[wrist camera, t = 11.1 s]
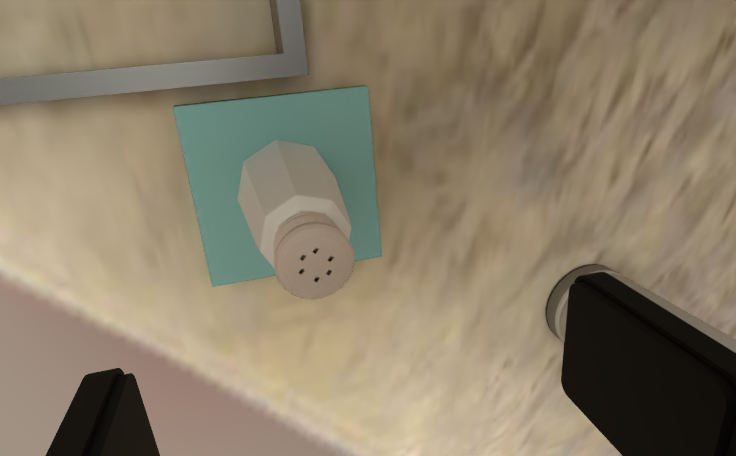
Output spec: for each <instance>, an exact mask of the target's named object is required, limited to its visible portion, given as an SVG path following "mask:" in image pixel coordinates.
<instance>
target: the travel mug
mask: <svg viewBox="0 0 736 456" xmlns="http://www.w3.org/2000/svg"><path fill="white" fill-rule="evenodd" d="M596 272H606V273H608V274H610V275H611V276H613V277H615V278H616V279H618V280H619V281H621V282H623V283H624V284H626V285H627V286H629V287H631V288H632V289H634V290H635V291H637V292H639V293H640V294H642V295H643V296H645V297H647V298H648V299H650V300H651V301H653V302H655V303H656V304H658V305H660V306H661V307H663V308H664V309H666V310H668V311H669V312H671V313H672V314H674V315H676V316H677V317H679V318H680V319H682V320H684V321H685V322H687V323H688V324H690V325H692V326H693V327H695V328H697V329H698V330H700V331H701V332H703V333H705V334H706V335H708V336H709V337H711V338H713V339H714V340H716V341H717V342H719V343H721V344H722V345H724V346H725V347H727V348H729V349H730V350H732V351H733V352H735V353H736V339H734V338H732V337H730V336H728V335H727V334H725V333H723V332H721V331H720V330H718V329H716V328H714V327H713V326H711V325H709V324H707V323H705V322H704V321H702V320H700V319H698V318H697V317H695V316H693V315H691V314H689V313H688V312H686V311H684V310H682V309H681V308H679V307H677V306H675V305H674V304H672V303H670V302H668V301H666V300H665V299H663V298H661V297H659V296H658V295H656V294H654V293H652V292H650V291H649V290H647V289H645V288H643V287H642V286H640V285H638V284H636V283H635V282H633V281H631V280H629V279H627V278H625V277H623V276H622V275H620V274H619V273H617V272H615V271H613V270H611V269H610V268H607V267H605V266H601V265H589V266H585V267H581V268H579V269H577V270H575V271H573V272H571V273H570V274H568V275H567V276H566V277H565V278H564V279H563V280H562V281H561V282H560V283H559V284H558V285H557V287H556V288H555V290H554V291H553V293H552V295H551V297H550V300H549V303H548V308H547V320H548V324H549V327H550V329H551V331H552V332H553V333H554V334H555V335H556V336H557V337H558V338H559V339H560V340H562V341H563V342H564V341H565V330H566V318H567V307H568V295H569V288H570V286H571V285H572V284H574V281H575V279H576V278H577V277H578V276H581V275H586V274H591V273H596Z"/></svg>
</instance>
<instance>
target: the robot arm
mask: <svg viewBox="0 0 736 456" xmlns="http://www.w3.org/2000/svg"><path fill="white" fill-rule="evenodd" d="M561 382H562V387H563V389H564V391H565V393H566V395H567V396H568V397H569V398H570V399H571V400H572V402H573V403H574V404H575V405H576V406H577V407H578V408H579V409H580V410H581V411H582V412H583V413H584V414H585V416H586V417H587V418H588V419H589V420H590V421H591V422H592V423H593V424H594V425H595V426H596V427H597V429H598V430H599V431H600V432H601V433H602V434H603V435H604V436H605V437H606V438H607V439H608V440H609V441H610V443H611V444H612V445H613V446H614V447H615V448H616V449H617V450H618V451H619V452H620V453H621V454H622V456H736V353H735V352H733V351H732V350H730V349H729V348H727V347H725V346H724V345H722V344H721V343H719V342H717V341H716V340H714V339H713V338H711V337H709V336H708V335H706V334H705V333H703V332H701V331H700V330H698V329H697V328H695V327H693V326H692V325H690V324H688V323H687V322H685V321H684V320H682V319H680V318H679V317H677V316H676V315H674V314H672V313H671V312H669V311H668V310H666V309H664V308H663V307H661V306H660V305H658V304H656V303H655V302H653V301H651V300H650V299H648V298H647V297H645V296H643V295H642V294H640V293H639V292H637V291H635V290H634V289H632V288H631V287H629V286H627V285H626V284H624V283H623V282H621V281H619V280H618V279H616V278H615V277H613V276H611V275H610V274H608V273H606V272H596V273H591V274H586V275H581V276H578V277H577V278H576V279H575V281H574V284H572V285H571V286H570V288H569V295H568V307H567V318H566V330H565V341H564V353H563V365H562V376H561ZM46 456H160V454H159V451H158V448H157V445H156V442H155V438H154V435H153V432H152V429H151V426H150V423H149V420H148V416H147V413H146V410H145V407H144V404H143V401H142V398H141V394H140V391H139V388H138V385H137V382H136V379H135V377H134V375H133V374H131V373H130V374H125V375H124V372H123V371H122V370H121V369H120V368H116V369H111V370H106V371H101V372H96V373H91V374H88V375H85V377H84V378H83V380H82V382H81V384H80V386H79V388H78V390H77V392H76V394H75V397H74V398H73V400H72V402H71V405H70V407H69V409H68V411H67V413H66V415H65V417H64V419H63V421H62V423H61V425H60V427H59V429H58V431H57V433H56V436H55V437H54V440H53V442H52V444H51V446H50V448H49V450H48V452H47V454H46Z"/></svg>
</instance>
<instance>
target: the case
mask: <svg viewBox="0 0 736 456" xmlns="http://www.w3.org/2000/svg"><path fill="white" fill-rule="evenodd" d="M270 7H271V14H272V21H273V28H274V35H275V43H276V50H277V54H273V55H261V56H250V57H239V58H228V59H216V60H205V61H194V62H183V63H171V64H160V65H149V66H138V67H126V68H115V69H104V70H92V71H81V72H70V73H59V74H47V75H36V76H25V77H14V78H2V79H0V105H9V104H19V103H30V102H40V101H50V100H60V99H70V98H80V97H90V96H100V95H111V94H121V93H131V92H141V91H151V90H161V89H171V88H181V87H192V86H202V85H212V84H222V83H232V82H242V81H252V80H262V79H273V78H283V77H293V76H303V75H309V72H308V63H307V55H306V47H305V39H304V30H303V22H302V14H301V6H300V0H270Z"/></svg>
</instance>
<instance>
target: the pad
mask: <svg viewBox="0 0 736 456" xmlns="http://www.w3.org/2000/svg"><path fill="white" fill-rule="evenodd" d="M173 110H174V114H175V119H176V123H177V128H178V133H179V137H180V142H181V146H182V151H183V155H184V160H185V164H186V169H187V173H188V178H189V182H190V187H191V191H192V196H193V200H194V205H195V210H196V214H197V219H198V223H199V228H200V232H201V237H202V241H203V246H204V250H205V255H206V259H207V264H208V268H209V273H210V277H211V282H212V286H213V287H215V286H220V285H226V284H231V283H237V282H242V281H248V280H253V279H259V278H264V277H270V276H275V275H276V274H275V269H274V268H273V267H272V265H271V264H270V263H269V262H268V261H267V259H266V258H265V257H264V256H263V254H262V253H261V252H260V250H259V248H258V247H257V245H256V243H255V240H254V238H253V236H252V233H251V231H250V228H249V226H248V223H247V221H246V218H245V216H244V214H243V211H242V209H241V206H240V204H239V201H238V193H239V187H240V180H241V173H242V167H243V161H245V160H246V159H248V158H249V157H251V156H252V155H254V154H255V153H257V152H258V151H259V150H261V149H262V148H264V147H265V146H267V145H268V144H270V143H271V142H273V141H274V140H276V139H277V140H282V141H288V142H293V143H298V144H304V145H309V146H314V147H315V148H316V150H317V151H318V153H319V154H320V156H321V157H322V159H323V160H324V161H325V163H326V164H327V166H328V167H329V169H330V170H331V172H332V173H333V175H334V176H335V178H336V181H337V184H338V187H339V190H340V193H341V196H342V199H343V202H344V205H345V207H346V210H347V213H348V216H349V219H350V222H351V228H352V229H351V233H350V238H349V241H350V243H351V245H352V247H353V250H354V258H355V261H358V260H364V259H369V258H375V257H380V256H382V254H381V241H380V229H379V217H378V204H377V192H376V179H375V167H374V155H373V142H372V130H371V118H370V105H369V93H368V86H355V87H346V88H336V89H327V90H318V91H308V92H299V93H289V94H280V95H270V96H261V97H251V98H242V99H232V100H223V101H214V102H204V103H195V104H185V105H176V106H174V107H173Z"/></svg>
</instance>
